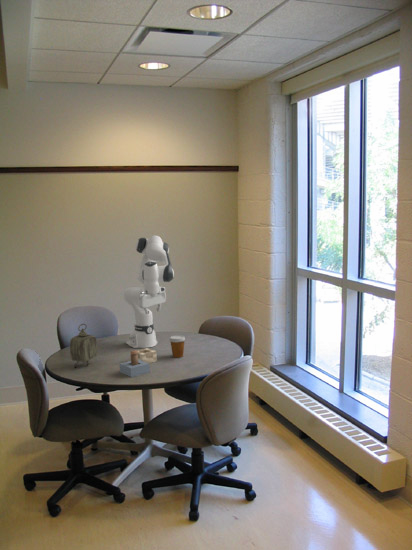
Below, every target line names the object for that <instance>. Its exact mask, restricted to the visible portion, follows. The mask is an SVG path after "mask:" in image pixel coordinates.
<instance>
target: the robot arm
mask: <svg viewBox="0 0 412 550" xmlns="http://www.w3.org/2000/svg"><path fill="white" fill-rule="evenodd" d="M135 248H136V249H135V250H136V252H137V253H139V254H143V256H142V257H141V260H140V264H139V268H138V272H137V279H138V280H137V281H138V282H140V283H141V284H143V286H130V287H127V288H126V289H124V291H123V299H124V301H125V302H126V303H127V304H129V305H130V306H131V308H132V309H133V311H134V315H135V324H134V325H133V327H134V330H133V331H132V332H131V333H129V339H128V340H126V342H125V344H126V345H128V346H129V347H131V348H134V349H140V348H141V349H145V348H152V347H155V346H157V344H158V340H157V337H156V331H155V330H154V328H155V325H154V323H153V322H154V319H153V312H152V311H151V309H149V307H153V306H157V307H156V312H160V311H161V308H162V304H164V303H166V302H167V294H166V287H164V286H160V283H161V282H162V283H163V282H164V283H170V282H171V281H172V280H173V279H174V277H175V271H174V269H173V266H172V263H171V258H170V254H169V252H170V246H169V243H167V242H164V241H163V240H162V238H161V237H160V236H159V235H151V236H150V237H149V238H145V237H140V238H138V240H137V241H136V243H135ZM157 262H158V263H162V264H164V265H158V263H157Z"/></svg>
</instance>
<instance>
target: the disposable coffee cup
mask: <svg viewBox="0 0 412 550" xmlns="http://www.w3.org/2000/svg"><path fill="white" fill-rule="evenodd" d="M185 340H186V337H185V336H184V335H179V334H177V335H176V334H175V335H172V336H170V338H169V342H170V345H171V346H170V347H171V352H172V357H173V358H175V359H176V358H177V359H178V358H179V359H180V358H183V357H184V351H185Z"/></svg>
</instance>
